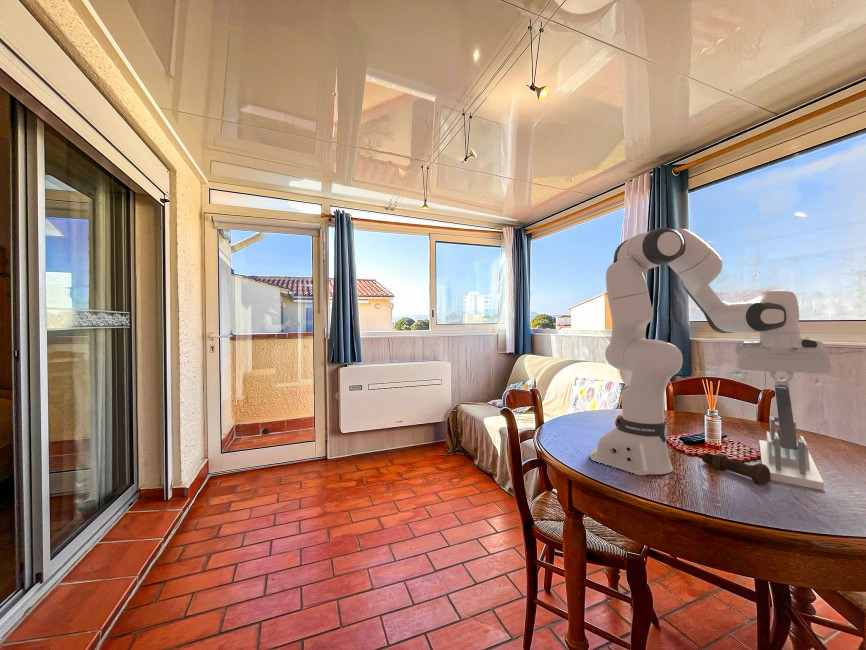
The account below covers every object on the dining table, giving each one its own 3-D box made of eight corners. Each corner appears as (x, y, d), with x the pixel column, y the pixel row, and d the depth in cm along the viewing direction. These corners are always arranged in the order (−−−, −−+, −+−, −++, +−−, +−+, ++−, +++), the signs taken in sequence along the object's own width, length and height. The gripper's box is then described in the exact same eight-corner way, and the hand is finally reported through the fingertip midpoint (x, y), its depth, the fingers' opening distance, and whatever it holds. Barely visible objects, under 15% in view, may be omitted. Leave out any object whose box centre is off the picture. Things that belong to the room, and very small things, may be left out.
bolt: (707, 469, 104) (767, 489, 90) (696, 463, 103) (755, 482, 89) (713, 451, 105) (773, 468, 91) (702, 445, 104) (761, 461, 90)
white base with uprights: (763, 478, 93) (761, 437, 93) (759, 445, 117) (758, 413, 117) (824, 490, 86) (821, 446, 86) (806, 452, 109) (805, 418, 109)
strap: (781, 447, 94) (781, 445, 93) (774, 387, 108) (774, 384, 108) (797, 450, 92) (797, 447, 91) (788, 388, 106) (788, 385, 106)
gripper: (735, 342, 110) (737, 384, 110) (830, 342, 97) (833, 390, 96) (735, 341, 115) (737, 381, 115) (827, 341, 101) (829, 387, 101)
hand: (781, 386), depth 106 cm, fingers closed
